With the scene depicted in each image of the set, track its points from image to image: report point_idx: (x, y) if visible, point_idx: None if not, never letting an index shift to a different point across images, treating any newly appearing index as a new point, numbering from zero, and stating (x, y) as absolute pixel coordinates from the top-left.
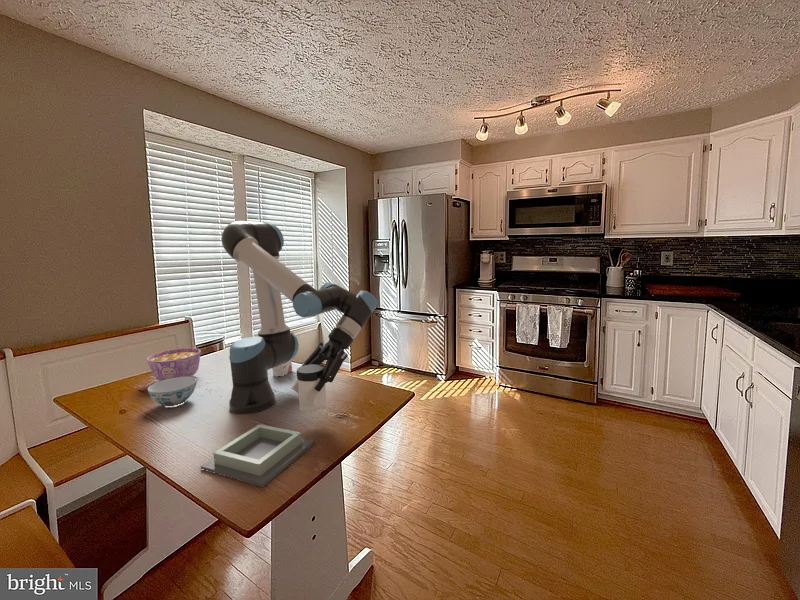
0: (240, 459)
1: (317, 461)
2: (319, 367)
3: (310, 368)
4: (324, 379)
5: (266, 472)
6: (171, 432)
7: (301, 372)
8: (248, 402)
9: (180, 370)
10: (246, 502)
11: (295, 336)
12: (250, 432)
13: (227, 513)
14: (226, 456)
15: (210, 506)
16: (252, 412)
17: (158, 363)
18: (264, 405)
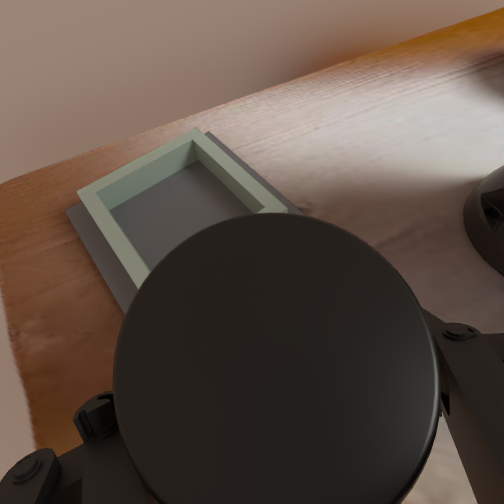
0: (127, 164)
1: (59, 336)
2: (241, 466)
3: (268, 338)
4: (77, 448)
5: (93, 219)
6: (401, 92)
7: (199, 233)
8: (495, 197)
9: None
10: (52, 191)
11: None
12: (246, 186)
13: (51, 169)
14: (163, 145)
15: (89, 151)
16: (465, 225)
17: None
18: (496, 253)
